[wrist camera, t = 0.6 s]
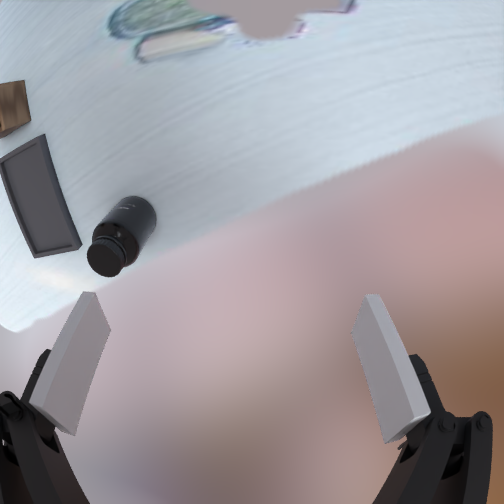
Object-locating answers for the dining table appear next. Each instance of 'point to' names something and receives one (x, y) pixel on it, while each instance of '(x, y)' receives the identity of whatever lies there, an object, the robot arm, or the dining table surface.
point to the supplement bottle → (121, 236)
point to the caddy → (13, 107)
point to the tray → (38, 199)
